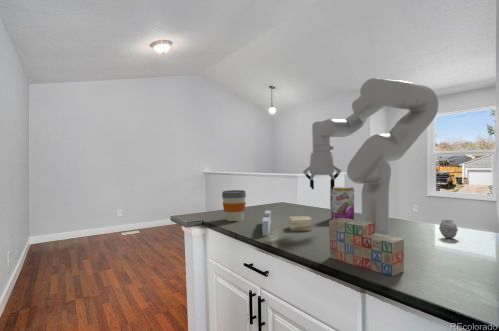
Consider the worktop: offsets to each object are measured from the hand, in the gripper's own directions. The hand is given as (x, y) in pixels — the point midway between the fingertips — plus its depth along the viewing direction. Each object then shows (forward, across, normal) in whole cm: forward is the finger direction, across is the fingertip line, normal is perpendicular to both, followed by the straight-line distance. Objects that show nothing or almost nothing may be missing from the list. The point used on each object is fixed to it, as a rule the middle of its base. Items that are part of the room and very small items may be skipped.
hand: (322, 188), depth 140 cm
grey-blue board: (+18, +25, 0) cm, 31 cm away
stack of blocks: (+18, -6, +46) cm, 50 cm away
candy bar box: (+18, -12, -20) cm, 30 cm away
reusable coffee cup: (+18, +43, -20) cm, 51 cm away
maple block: (+18, +10, 0) cm, 21 cm away
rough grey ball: (+18, -45, +16) cm, 51 cm away
